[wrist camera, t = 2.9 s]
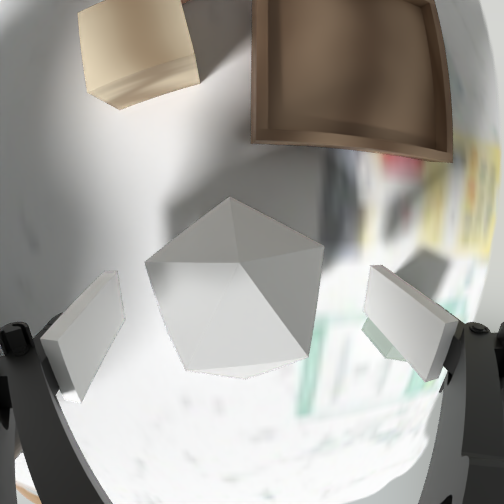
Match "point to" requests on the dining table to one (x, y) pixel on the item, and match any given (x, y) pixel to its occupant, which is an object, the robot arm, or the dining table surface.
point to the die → (238, 292)
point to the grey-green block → (381, 341)
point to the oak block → (136, 50)
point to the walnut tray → (351, 77)
